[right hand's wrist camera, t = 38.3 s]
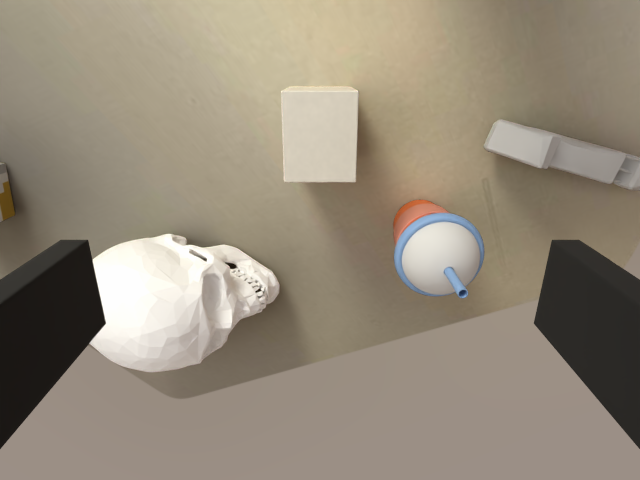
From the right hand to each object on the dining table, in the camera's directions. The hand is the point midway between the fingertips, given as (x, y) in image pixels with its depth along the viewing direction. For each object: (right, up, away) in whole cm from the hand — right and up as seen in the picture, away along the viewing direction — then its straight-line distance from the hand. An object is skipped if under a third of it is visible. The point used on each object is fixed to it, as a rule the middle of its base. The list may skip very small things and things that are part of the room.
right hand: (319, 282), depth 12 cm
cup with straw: (+12, +3, +41) cm, 43 cm away
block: (0, +14, +36) cm, 39 cm away
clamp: (+28, +11, +38) cm, 49 cm away
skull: (-16, -3, +43) cm, 46 cm away
